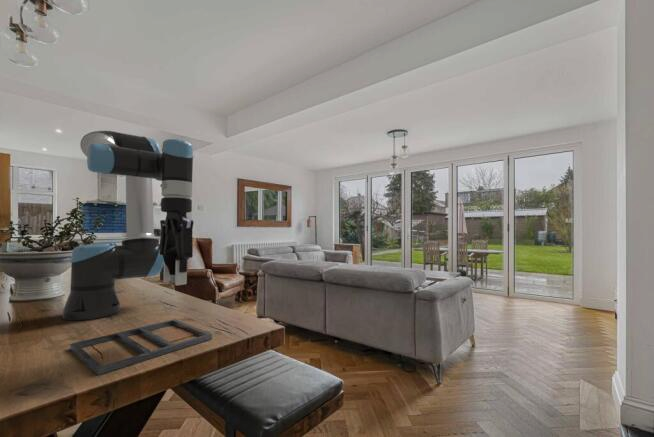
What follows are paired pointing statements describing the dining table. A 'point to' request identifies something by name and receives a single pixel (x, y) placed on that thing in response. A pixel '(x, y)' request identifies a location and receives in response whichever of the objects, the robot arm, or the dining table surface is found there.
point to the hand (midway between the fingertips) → (174, 282)
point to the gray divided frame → (145, 353)
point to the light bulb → (171, 262)
